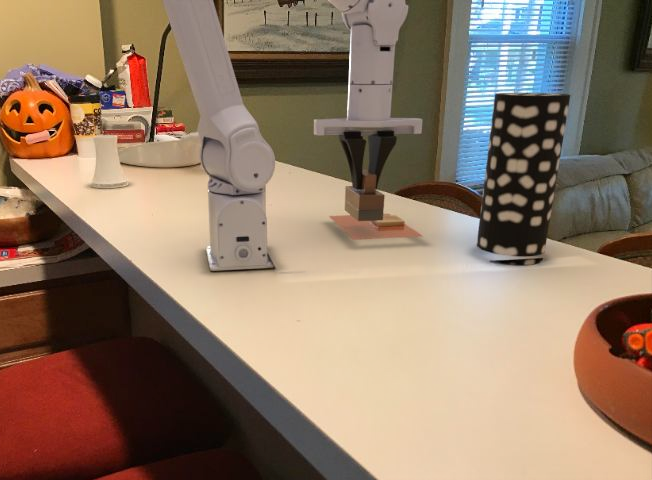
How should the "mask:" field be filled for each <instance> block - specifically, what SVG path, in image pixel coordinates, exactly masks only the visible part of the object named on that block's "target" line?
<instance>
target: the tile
mask: <svg viewBox="0 0 652 480" xmlns="http://www.w3.org/2000/svg"><path fill="white" fill-rule="evenodd" d="M384 215H392V214H390V213H383V216H384ZM328 217H329V219H331V220H332V221H333V222H334V223H335V224H336V225H337V226H339V228H340V229H342V230H343V231H344V232H345V233H346V234H347V235H348V236H349V237H350V238H351V239H352V240H355V241H356V240H374V239H395V238H397V239H398V238H416V237H418V238H419V237H420V238H421V237H423V234H420V232H417V231H416V230H415V229H413V228H411V227H410V226H409V225H407V224H406V223H405V224H404V226H384V227H378V226H377V225H376V224H374V223H373V222H372V221H358V220H356V219H355V218H354V217H353V216H351V215H350V214H345V215H344V214H343V215H329V216H328Z"/></svg>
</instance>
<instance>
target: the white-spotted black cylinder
mask: <svg viewBox="0 0 652 480" xmlns="http://www.w3.org/2000/svg"><path fill="white" fill-rule="evenodd" d="M570 100H571V94H569V93H555V92H554V93H552V92H499V93H494V100H493V106H492V107H493V108H492V116H491V123H490V133H489V140H488V141H489V142H488V147H487V158H486V166H485V173H484V183H483V190H482V198H481V205H480V213H479V222H478V231H477V238H476V247H477V248H478V249H480V250H481V251H484V252H487V253H490V254H494V255H499V256H506V257H507V256H508V257H518V258H512V259H495V260H490V262H492V263H495V264H503V265H510V266H530V265H536V264H539V263H542V262H543V261H544V257H535V256H539V255H540V256H541V255H542V254H544V253H545V252H546V247H547V246H546V245H547V240H548V234H549V229H550V228H549V227H550V222H551V216H552V209H553V204H554V197H555V191H556V187H557V186H556V185H557V179H558V173H559V167H560V160H561V155H562V150H563V149H562V148H563V142H564V137H565V131H566V124H567V119H568V113H569V106H570ZM519 257H530V258H519ZM531 257H532V258H531ZM533 257H534V258H533Z"/></svg>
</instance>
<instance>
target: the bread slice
mask: <svg viewBox="0 0 652 480" xmlns="http://www.w3.org/2000/svg"><path fill="white" fill-rule="evenodd" d="M372 222H373V223H374V224H376V225H377V226H378V227H384V226H404V224H406V223H405V222H406V221H405V220H404V219H402V218H401V217H399V216H397V215H396V214H391V215H384V216H383V220H376V221H372Z"/></svg>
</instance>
